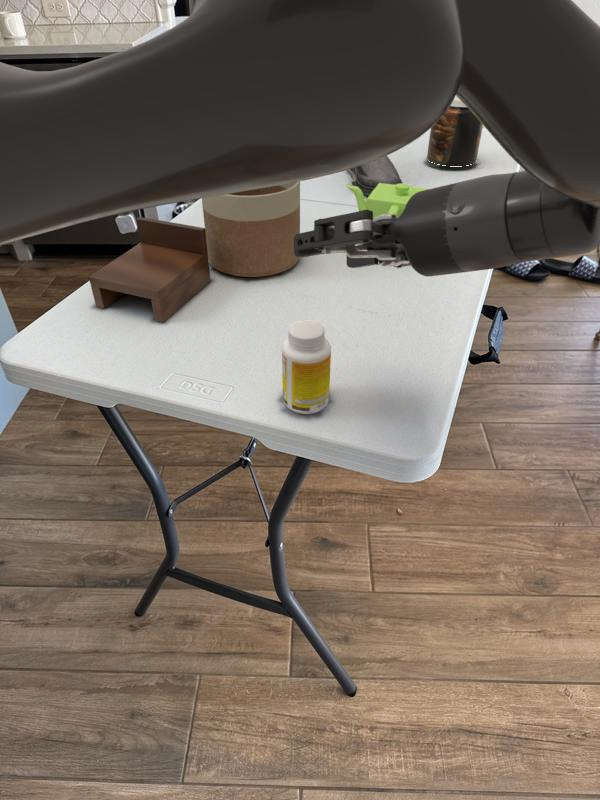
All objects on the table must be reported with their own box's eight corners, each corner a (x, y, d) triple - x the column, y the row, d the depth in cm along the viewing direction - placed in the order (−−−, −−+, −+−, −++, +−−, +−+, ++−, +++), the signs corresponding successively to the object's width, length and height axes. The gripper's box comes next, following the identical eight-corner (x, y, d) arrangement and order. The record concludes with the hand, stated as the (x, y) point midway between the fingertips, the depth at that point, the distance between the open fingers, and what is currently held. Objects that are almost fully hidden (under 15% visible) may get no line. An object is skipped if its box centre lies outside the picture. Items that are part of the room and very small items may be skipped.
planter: (258, 233, 109) (255, 157, 100) (318, 260, 100) (320, 179, 91) (190, 259, 100) (179, 178, 92) (249, 290, 91) (244, 204, 83)
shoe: (362, 204, 121) (366, 144, 113) (338, 165, 142) (341, 112, 134) (410, 202, 122) (417, 142, 115) (380, 163, 143) (384, 110, 136)
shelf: (163, 322, 84) (153, 265, 78) (95, 306, 87) (81, 250, 82) (210, 281, 94) (205, 227, 88) (148, 268, 97) (139, 216, 92)
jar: (455, 174, 137) (467, 104, 127) (417, 163, 143) (425, 96, 134) (484, 164, 143) (497, 97, 133) (446, 153, 149) (456, 89, 140)
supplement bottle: (338, 403, 69) (342, 330, 63) (302, 422, 66) (303, 348, 60) (308, 382, 73) (309, 310, 66) (273, 399, 70) (271, 326, 63)
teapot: (451, 251, 103) (462, 191, 96) (390, 268, 98) (397, 205, 91) (400, 222, 113) (406, 166, 107) (342, 235, 108) (345, 178, 102)
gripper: (427, 260, 44) (276, 281, 55) (503, 279, 55) (363, 294, 66) (427, 160, 44) (275, 201, 55) (504, 199, 54) (363, 227, 65)
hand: (323, 252), depth 60 cm, fingers open, 8 cm apart
